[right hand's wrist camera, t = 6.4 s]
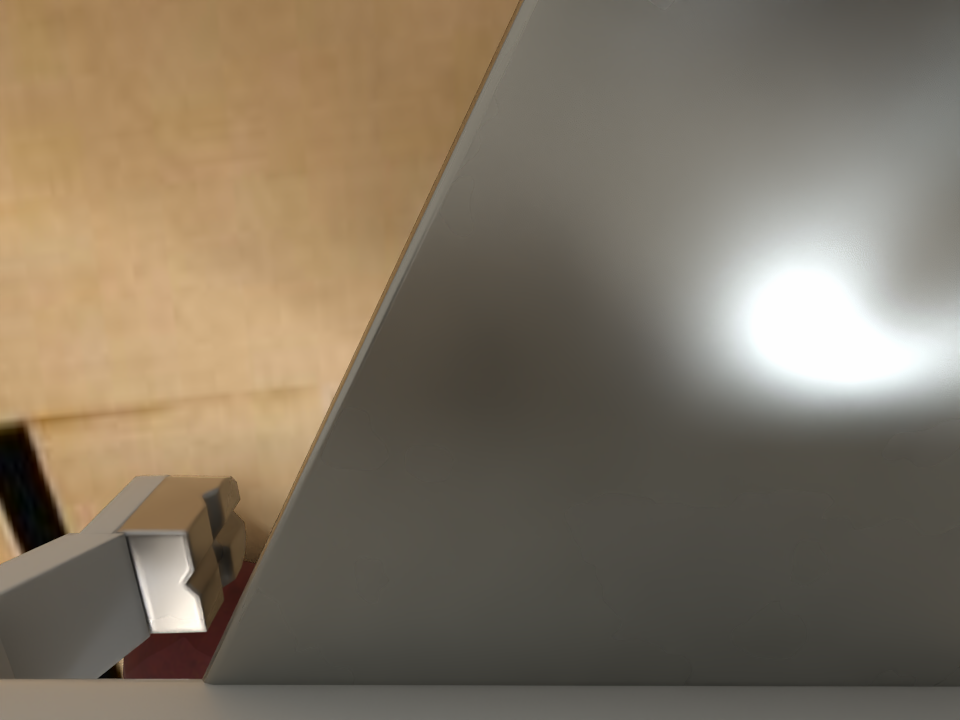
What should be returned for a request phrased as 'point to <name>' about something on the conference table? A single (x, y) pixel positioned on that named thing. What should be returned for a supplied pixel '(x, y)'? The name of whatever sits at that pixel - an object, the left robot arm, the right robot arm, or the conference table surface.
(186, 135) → the conference table surface
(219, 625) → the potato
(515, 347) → the box
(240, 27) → the conference table surface
